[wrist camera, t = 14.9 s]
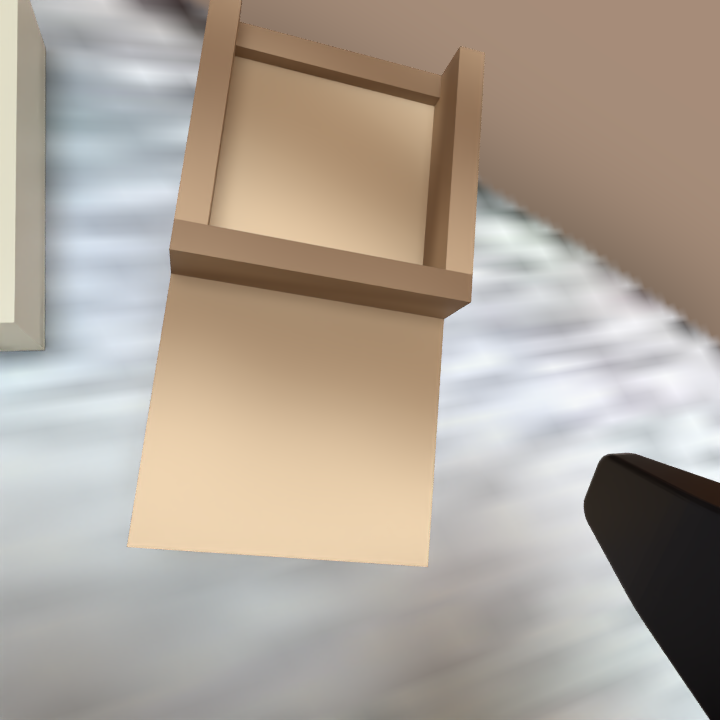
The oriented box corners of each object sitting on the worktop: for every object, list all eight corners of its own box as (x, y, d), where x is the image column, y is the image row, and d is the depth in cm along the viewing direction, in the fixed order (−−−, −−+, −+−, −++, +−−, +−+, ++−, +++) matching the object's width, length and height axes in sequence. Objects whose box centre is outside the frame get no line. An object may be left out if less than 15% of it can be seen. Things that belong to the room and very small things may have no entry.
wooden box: (319, 527, 20) (455, 576, 10) (155, 514, 19) (118, 555, 9) (347, 250, 22) (484, 52, 12) (200, 222, 21) (214, -23, 11)
